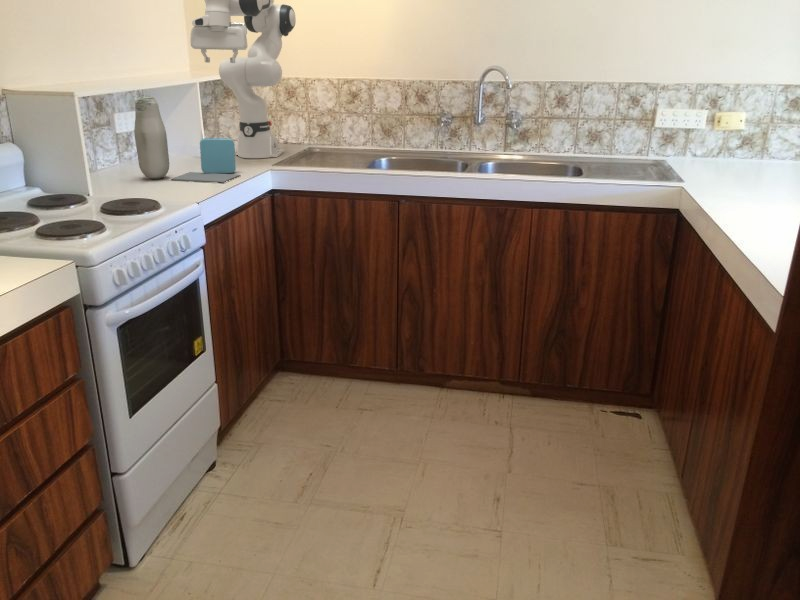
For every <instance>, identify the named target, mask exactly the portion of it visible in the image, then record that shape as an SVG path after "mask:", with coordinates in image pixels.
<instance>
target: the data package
mask: <svg viewBox="0 0 800 600" xmlns="http://www.w3.org/2000/svg"><path fill="white" fill-rule="evenodd" d="M235 148H236V147H235V142H234V140H233V139H232V138H209V137H208V138H201V139H200V141H199V149H200V151H199V152H200V163H201V164H200V166H201V168H200V169H201V172H202V173H217V174H233V173H235V171H236V168H237V167H236V166H237V165H236V155H235V153H236V152H235V151H236V149H235Z"/></svg>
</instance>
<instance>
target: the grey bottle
mask: <svg viewBox="0 0 800 600" xmlns="http://www.w3.org/2000/svg"><path fill="white" fill-rule="evenodd" d="M134 110H135V115H134V118H135V119H134V129H133V131H134V142H135V147H136V148H135V149H136V154H137V160H138V166H139V169H140V172H141V173H142V174H143V176H145V177H146V178H148V179H151V180H152V179H153V180H157V179H162V178H164V177H166V176H167V174H168V173H169V170H170V155H169V144H168V137H167V136H168V134H167V131H166V126H165V125H164V124H165V123H164V122H163V119H162V115H161V111H160V108H159V103H158V101H157V100H156V99H155V98H154V97H153V96H151V95H142V96H139V97H137V98H136V100H135V102H134Z"/></svg>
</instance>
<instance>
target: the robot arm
mask: <svg viewBox="0 0 800 600" xmlns="http://www.w3.org/2000/svg"><path fill="white" fill-rule="evenodd" d="M204 3H205V8H204V9H205V10H204V16H200V17H197V18H194V19H192V20H191V24H192V26H193V27H192V28H191V29H190V30H191V31H190V37H189V38H190V47H191V48H192V49H194V50H200V52H201V54H202V56H203V58H204V63H208V64H209V63H211V57H208V55H207V54H206V53H207V52H208V51H207V50H217V51H218V50H220V51H224V50H227V51H232V54H233V55H232V57H229V58H225V59H222V61H221V62H220V64H219V67H218V75H219V78H220V79H221V81H222V83H224V84H225V85H226V86H228V88H230V90H231V91H232V92H233V94H234V96H235V98H236V101H237V105H238V111H239V113H238V114H239V124H238V125H239V126H238V127H239V131H240V133H239V134H238V135H237V152H235V156H237V155H238V156H237V157H239V158H243V159H266V158H267V159H268V158H277V157H279V156H281V155H282V154H283V153H284V152H285V151H284V149H282V148H279V142H278V138H277V137H276V136H275V134H273V132H272V131H271V127H272V125H273V122H272V121H271V120H269V121H268V108H267V102H266V100H265V99H264V98H262V97H261V96H259V95H258V94H256V93H255V91H254V89H253V87H263V88H265V87H267V88H268V87H270V86H277V85H279V83H280V81H281V79H282V77H283V70H282V66H281V64H280V63H279V61H278V60H277V59H278V57H279V55H280V54H281V52H282V51H281V50H282V48H283V41H282V38H283V37H287V36H289V34H290V33H291V32H292V31H293V30H294V28H295V25H296V13H295V10H294V8H293V7H292V6H291V5H288V4H275V0H204ZM231 17H243V22H244V23H243V22H231V21H232V19H231ZM248 31H249V32H251V33H256V34H258V33H261V34H260V35H259V36H258V37H257V38H256V39H255V41H254V42H253V43H252V45H251V46H250V48H249V49H248V39H247V34H248ZM247 49H248V51H247V57H237V56H238V53H239V51H246V50H247Z"/></svg>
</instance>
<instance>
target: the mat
mask: <svg viewBox="0 0 800 600" xmlns="http://www.w3.org/2000/svg"><path fill="white" fill-rule="evenodd" d="M239 176H240V177H241V174H235V173H234V174H233V173H204V172H195V171H189V172H187V173H186V172H185V173H183V174H180V175H176V176H175V177H171V178H170V181H171V180H172V182H174V181H175V182H189V181H194V182H193V183H207V182H222V183H221V184H225V183H224V182H226V181H228V182H230V181H229V180H231V181H233V180H235V179H234V178H236V179H237V177H238V178H240V177H239ZM232 179H233V180H232ZM226 183H227V182H226Z"/></svg>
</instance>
